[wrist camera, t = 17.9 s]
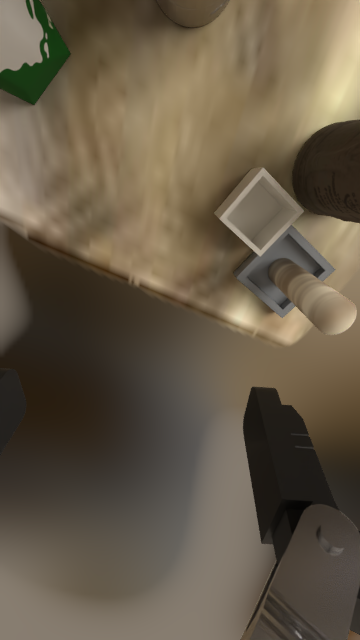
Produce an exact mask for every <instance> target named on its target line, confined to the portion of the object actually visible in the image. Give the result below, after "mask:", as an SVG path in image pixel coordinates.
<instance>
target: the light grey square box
mask: <svg viewBox="0 0 360 640" xmlns="http://www.w3.org/2000/svg"><path fill="white" fill-rule="evenodd" d="M303 212H304V210H303V209H302V208H301V207H300V206H299V205H298V204H297V203H296V202H295V201H294V199H293V198H292V197H291V196H290V195H289V194H288V193H287V192H286V191H285V190H284V189H283V188H282V187H281V186H280V185H279V184H278V183H277V181H276V180H275V179H274V178H273V177H272V176H271V175H270V174H269V173H268V172H267V171H266V170H265V169H264V168H263V167H262V168H252V169H251V170H250V171H249V172H248V173H247V174H246V176H245V177H244V178H243V179H242V180H241V182H240V183H239V184H238V185H237V186H236V187H235V189H234V190H233V191H232V192H231V193H230V195H229V196H228V197H227V198H226V199H225V201H224V202H223V203H222V204H221V205H220V206H219V208H218V209H217V210H216V211H215V212H214V214H215V215H216V216H217V217H218V218H219V219H220V220H221V221H222V222H223V223H224V224H225V225H226V226H227V227H229V228H230V229H231V230H232V231H233V232H234V233H235V234H236V235H237V236H238V237H239V238H240V239H241V240H243V241H244V242H245V243H246V244H247V245H248V246H249V247H250V248H251V249H252V250H253V251H254V252H255V253H257V254H258V255H259V256H260V257H261V255H262V254H263V253H264V252H265V251H266V250H267V249H268V248H269V247H270V246H271V245H272V244H273V243H274V242H275V241H276V240H277V239H278V238H279V237H280V236H281V235H282V234H283V233H284V232H285V231H286V230H287V229H288V228H289V227H290V225H291V224H292V223H293V222H294V221H295V220H296V219H297V218H298V217H299V216H300V215H301V214H302V213H303Z"/></svg>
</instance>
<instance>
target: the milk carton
mask: <svg viewBox="0 0 360 640" xmlns="http://www.w3.org/2000/svg"><path fill="white" fill-rule="evenodd" d="M70 54H71V53H70V52H69V50H68V48H67V46H66V45H65V43H64V41H63V40H62V38H61V36H60V34H59V33H58V31H57V29H56V27H55V26H54V24H53V22H52V20H51V19H50V17H49V15H48V13H47V12H46V10H45V8H44V7H43V5H42V4H41V2H40V1H39V0H0V89H2V90H4V91H6V92H8V93H10V94H12V95H14V96H17V97H19V98H21V99H23V100H25V101H27V102H29V103H31V104H33V105H35V103H36V102H37V100H38V99H39V98H40V96H41V95H42V93H43V92H44V91H45V89H46V88H47V86H48V85H49V84H50V82H51V81H52V79H53V78H54V77H55V75H56V74H57V72H58V71H59V70H60V68H61V67H62V65H63V64H64V63H65V61H66V60H67V59H68V57H69V56H70Z"/></svg>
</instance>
